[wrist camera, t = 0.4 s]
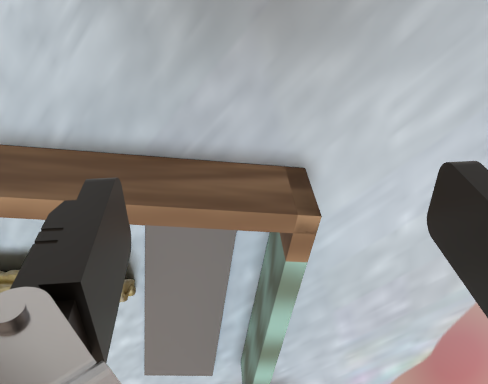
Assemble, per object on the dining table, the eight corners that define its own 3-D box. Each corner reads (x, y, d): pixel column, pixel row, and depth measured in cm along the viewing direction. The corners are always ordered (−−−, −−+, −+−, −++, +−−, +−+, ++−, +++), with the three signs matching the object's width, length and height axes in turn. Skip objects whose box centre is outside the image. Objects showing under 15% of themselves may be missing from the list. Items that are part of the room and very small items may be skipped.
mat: (145, 182, 31) (145, 185, 31) (242, 189, 32) (242, 192, 32) (144, 372, 45) (144, 375, 45) (212, 373, 46) (212, 375, 46)
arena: (-2, 144, 28) (-40, 194, 24) (304, 168, 31) (321, 216, 27) (45, 358, 42) (26, 415, 38) (255, 361, 45) (260, 414, 41)
